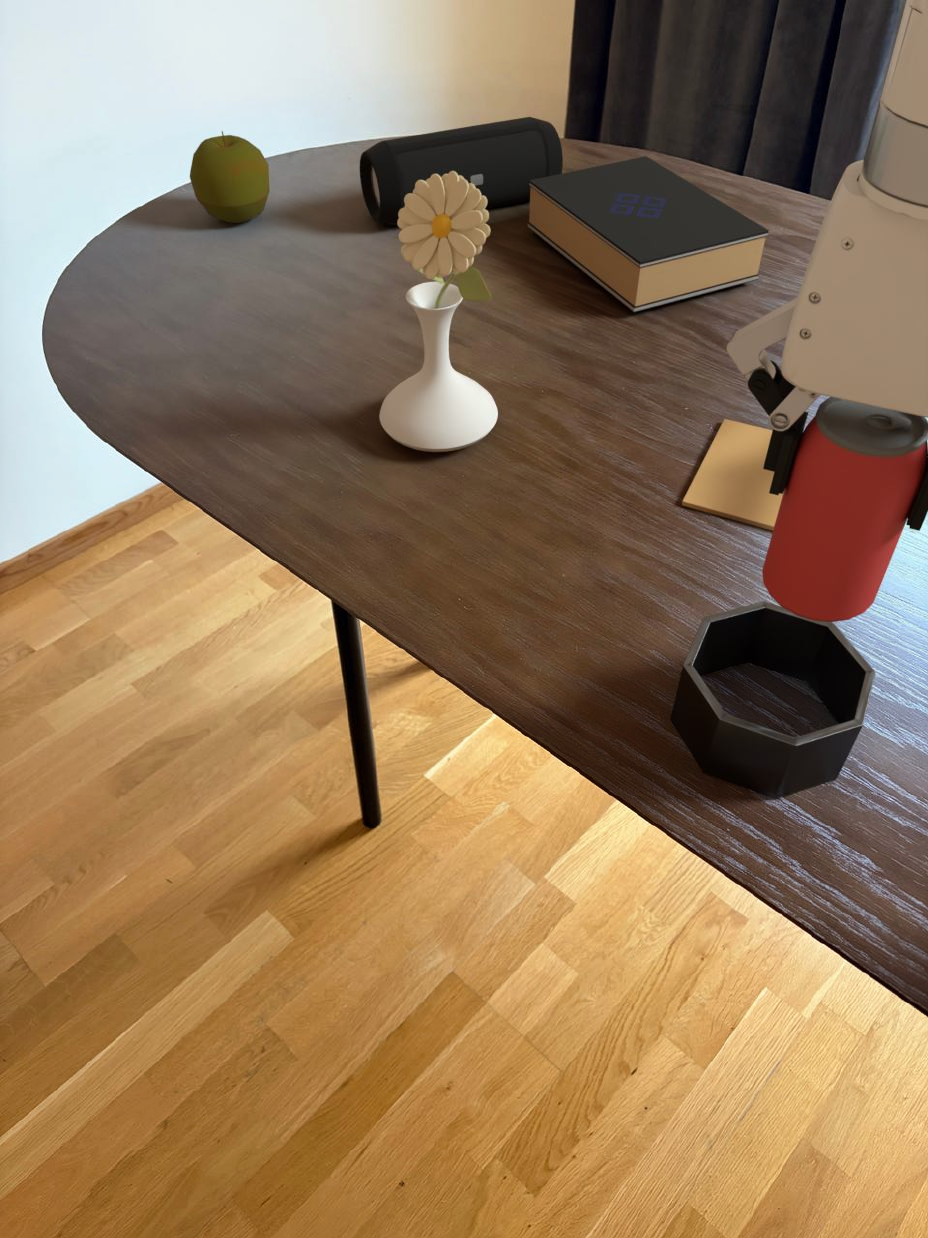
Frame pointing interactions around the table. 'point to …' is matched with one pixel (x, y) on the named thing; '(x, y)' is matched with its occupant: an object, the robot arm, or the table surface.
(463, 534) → the table surface
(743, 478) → the cork mat
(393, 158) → the portable speaker
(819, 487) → the beer can
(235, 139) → the apple
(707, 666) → the black octagonal pot
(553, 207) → the book
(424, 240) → the flower in vase
